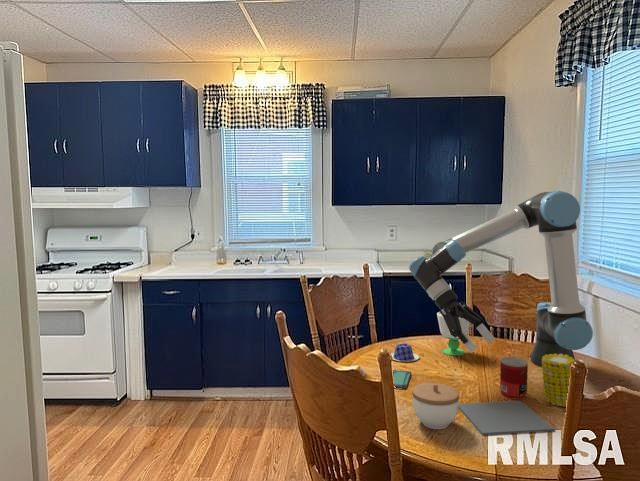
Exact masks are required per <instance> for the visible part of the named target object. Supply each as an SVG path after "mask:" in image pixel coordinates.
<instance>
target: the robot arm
mask: <svg viewBox="0 0 640 481" xmlns="http://www.w3.org/2000/svg"><path fill="white" fill-rule="evenodd" d="M580 214H581V206H580V203H579V201H578V199H577V197H575V196H574V195H573V194H571V193H569V192H565V191H561V190H554V191H544V192H540V193H538V194H536V195H534V196H532V197H530V198H529V199H526V200H525V201H523V202H521V203H519V204H516V205H515V206H514V209H512V210H510V211H509V212H506V213H503V214H501V215H500V216H499V215H498V216H497V217H495V218H492V219H490V220H488V221H485V222H483V223H481V224H479V225H477V226H475V227H473V228H470V229H469V230H467V231H464V232H462V233H459V234H457V235H455V236H453V237H451V238H448V239H446V240H444V241H439V242H437V243H435V244H434V246H433V247H432V250H431V252H432V254H431V255H430V256H429V257H428V258H427V257H426V256H425V255H421V256H418V257H417V258H415V259H414V260H413V261H411V263H410V265H409V268H408V269H409V272H410V273H411V274H412V276H413V277H414V279H415V280H416V281H417V282H418V283H419V285H420V286H421V287H422V289H424V291H425V292H426V293H427V295H428V297H429V298H431V300H432V301H434V304H435V305H436V306H437V307H438V308H439V310H440V311H439V312H440V313H441V314H442V316H443V317H444V320H445V322H446V324H447V327H448V329H449V331H450V334H451V335H452V336H453V337H455V338H456V337H457V336H458V337H459V340H460V341H461V343H462V344H463V345H464V347H465V348H466V349H467V350H468V352H469V353H470V354H472V353H473V352H475V351H476V350H477V349H478V347H477V345H476V344H475V343H474V341H473V340H472V339H471V338H470V336H469V335H468V334H466V333H465V332H463V333H462V328H461V325H460V321H459V318H464V319H465V320H467V321H469V322H470V324H472V325H473V326H475V327H476V328H475V329H476V330H477V331H478V332H479V334H480V335H481V336H482V337H483V339H484V340H485V341H486V342H487V343H488V344H491V343H492V342H493V341H494V340H495V339H496V338H495V337H494V335H493V334H492V333H491V332H490V331H489V329H488V328H487V327H486V325H485V324H483V323H484V322H485V319H484V318H483V317H482V316H480V315H479V314H478V313H477V312H476V311H475V310H473V309H472V308H471V307H470V306H468V305H467V304H466V302H465V301H463V300H462V301H461V302H459V301H457V300H458V295H457V294H456V293H455V291H454V290H453V289H452V288H451V287H450V285H449V284H448V283H447V282H446V280H445V279H444V278H443V276H442V275H443V274H445V273H446V272H447V271H449V270H450V269H451V268H452V267H454V266H455V265H456V264H458V263H460V262H461V261H462V260H463V259H464V258H465V257H466V255H467V254H468V253H471V252H472V251H474V250H476V249H479V248H480V247H484V246H485V245H487V244H490V243H492V242H494V241H497V240H499V239H501V238H503V237H506V236H508V235H510V234H512V233H515V232H517V231H519V230H522V229H526V230H528V229H530V228H533V227H536V226H538V233H539V234H540V235H542V236H543V237H544V245H545V246H544V247H545V252H546V254H545V255H546V264H547V272H548V273H547V274H548V281H549V291H550V300H551V302H549V301H547V302H539V303H537V306H536V311H535V312H536V325H535V326H536V333H535V334H536V335H535V337H536V338H535V343H534V345H533V347H532V350H531V354H530V362H531V363H533V364H534V365H537V366H539V367H542V357H543V356H545V355H549V354H552V355H553V354H563V355H565V354H566V355H569V357H572V358H573V359H574V360H575V361H576V358H575V355H574V351H577V350H578V351H579V350H581V349H583V348H586V347H587V345H589V344H590V343H591V341H592V339H593V336H594V331H593V327H592V325H591V324H590V322H589V321H588V320H587V314H586V307H585V306H584V305H582V304H581V303H580V295H579V285H578V276H577V275H578V274H577V267H576V266H577V265H576V259H575V257H576V256H575V247H574V238H573V234H574V233H575V232H576V231H577V230H578V228H577V220H578V218H579V217H580ZM453 330H454V331H453Z"/></svg>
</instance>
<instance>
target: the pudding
mask: <svg viewBox="0 0 640 481" xmlns="http://www.w3.org/2000/svg"><path fill="white" fill-rule="evenodd" d="M391 355H392V357H393V359H392V360H394V361H397V362H414V361H417V360H419V359H420V356H419V355H418V354H416V353H414V352H413V348H412V345H411V344H409V343H398V344H396V346H395V349H394V351H393V352H391Z"/></svg>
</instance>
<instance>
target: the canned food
mask: <svg viewBox="0 0 640 481" xmlns="http://www.w3.org/2000/svg"><path fill="white" fill-rule="evenodd" d="M499 367H500V374H499V376H500V378H499V379H500V380H499V381H500V382H499V391H500V394H501V395H502V396H504V397H506V398H509V399H511V400H512V399H513V400H514V399H515V400H523V399H525V398H526V397H527V395H528V373H529V372H528V370H529V368H528V367H529V363H528V361H527V360H525V359H523V358H521V357H515V356H505V357H501V359H500V366H499Z"/></svg>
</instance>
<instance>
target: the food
mask: <svg viewBox="0 0 640 481" xmlns="http://www.w3.org/2000/svg"><path fill="white" fill-rule="evenodd" d="M574 362H576V359H575V360H574V359H573V358H572V357H569V355H566V354H565V355H563V354H553V355H552V354H549V355H545V356H543V357H542V366H541V368H542V380H543V382H542V383H543V389H544V399H545V400H546V402H548V403H551V405H552V406H555V405H556V406H557V407H564V408H566V400H567V393H568V386H569V378H570V366H571V364H572V363H574ZM576 363H577V362H576Z"/></svg>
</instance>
